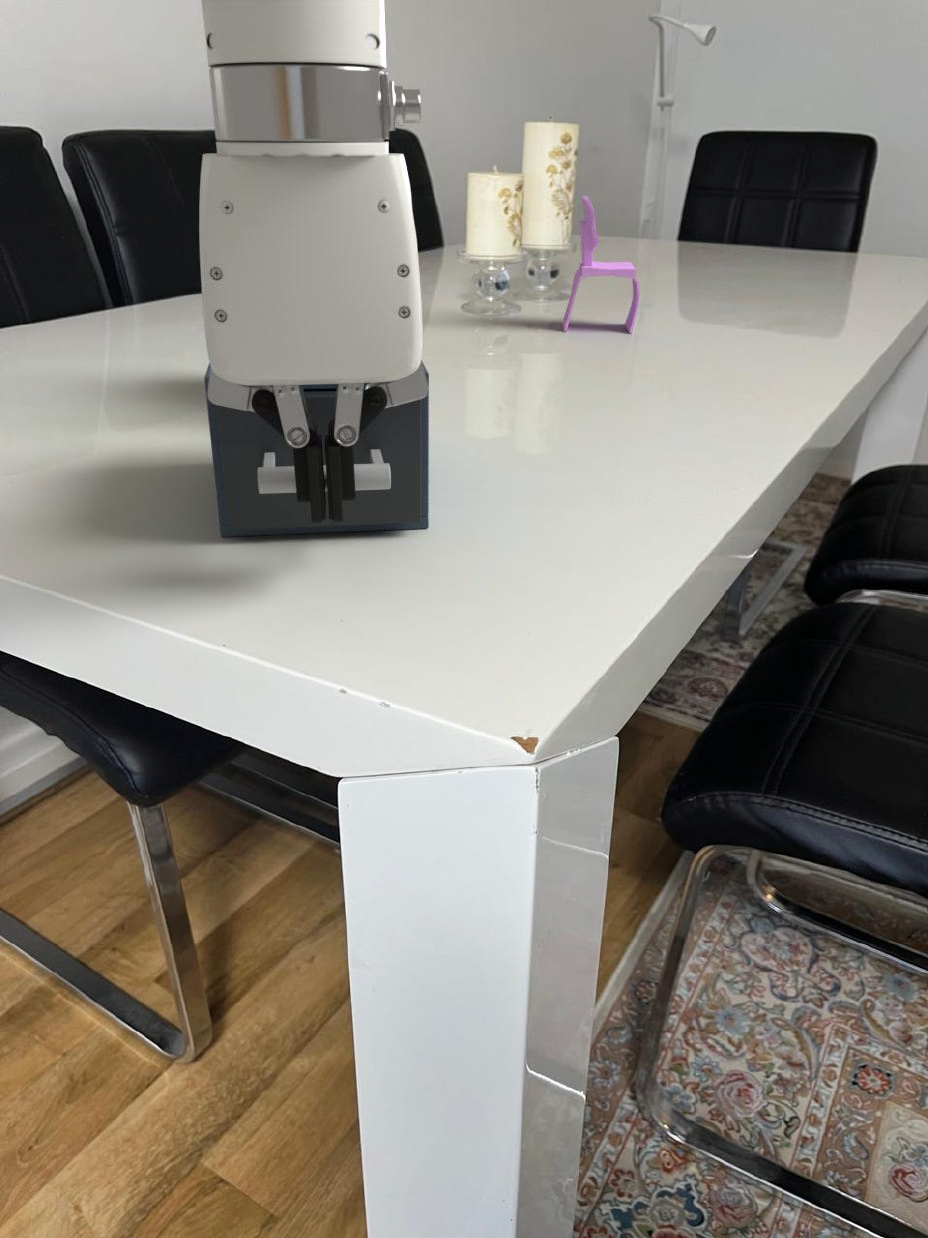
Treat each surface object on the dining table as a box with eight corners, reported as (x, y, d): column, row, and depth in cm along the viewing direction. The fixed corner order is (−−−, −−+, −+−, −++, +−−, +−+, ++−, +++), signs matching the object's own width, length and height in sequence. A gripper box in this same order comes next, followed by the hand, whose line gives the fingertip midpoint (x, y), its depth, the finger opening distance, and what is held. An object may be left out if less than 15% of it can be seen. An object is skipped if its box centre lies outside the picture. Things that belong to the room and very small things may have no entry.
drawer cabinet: (428, 528, 60) (429, 373, 55) (220, 537, 58) (203, 377, 53) (404, 456, 72) (403, 325, 68) (233, 461, 71) (220, 327, 66)
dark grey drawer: (431, 553, 54) (431, 416, 50) (223, 562, 52) (208, 422, 49) (399, 454, 70) (398, 344, 66) (239, 459, 68) (229, 347, 65)
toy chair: (637, 335, 116) (650, 199, 109) (564, 332, 116) (572, 197, 109) (630, 322, 123) (643, 194, 116) (562, 320, 124) (570, 193, 117)
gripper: (460, 119, 46) (460, 484, 54) (140, 118, 44) (190, 495, 53) (483, 118, 39) (479, 534, 48) (107, 116, 38) (170, 548, 46)
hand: (327, 513), depth 50 cm, fingers closed
